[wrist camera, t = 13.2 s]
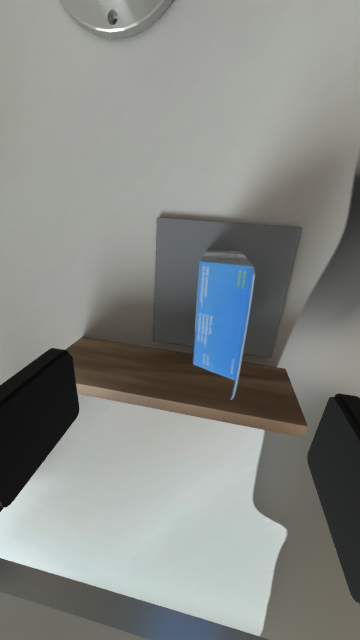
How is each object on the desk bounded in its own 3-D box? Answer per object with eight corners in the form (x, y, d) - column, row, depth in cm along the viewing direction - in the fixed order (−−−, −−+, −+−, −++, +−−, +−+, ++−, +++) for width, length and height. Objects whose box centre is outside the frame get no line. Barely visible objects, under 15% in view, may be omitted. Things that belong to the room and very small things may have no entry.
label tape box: (205, 248, 25) (185, 266, 14) (246, 250, 24) (259, 271, 13) (199, 327, 28) (179, 394, 17) (235, 331, 28) (238, 403, 16)
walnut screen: (81, 337, 33) (31, 374, 24) (285, 368, 29) (307, 426, 20) (82, 345, 33) (33, 385, 25) (283, 377, 29) (304, 437, 21)
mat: (158, 217, 25) (157, 217, 25) (300, 227, 23) (301, 227, 23) (154, 338, 30) (153, 340, 30) (270, 355, 28) (270, 358, 28)
